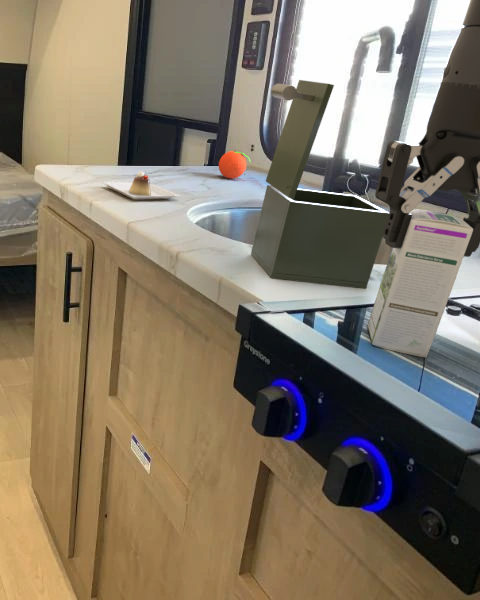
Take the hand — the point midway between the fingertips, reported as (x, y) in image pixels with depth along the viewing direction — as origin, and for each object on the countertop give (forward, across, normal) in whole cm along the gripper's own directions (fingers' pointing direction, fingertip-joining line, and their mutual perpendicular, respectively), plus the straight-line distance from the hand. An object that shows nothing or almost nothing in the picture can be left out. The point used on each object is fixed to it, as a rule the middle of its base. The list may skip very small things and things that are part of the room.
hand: (426, 250), depth 63 cm
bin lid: (-8, -8, +23) cm, 25 cm away
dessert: (+11, -23, +63) cm, 68 cm away
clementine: (+11, +4, +95) cm, 96 cm away
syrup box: (+11, 0, 0) cm, 11 cm away
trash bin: (+11, -2, +23) cm, 26 cm away
